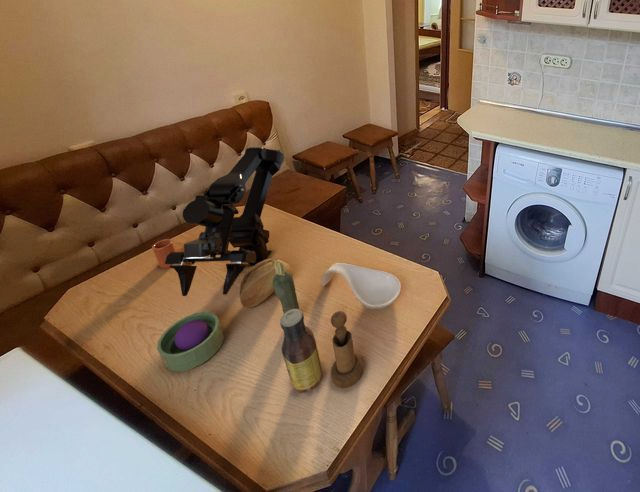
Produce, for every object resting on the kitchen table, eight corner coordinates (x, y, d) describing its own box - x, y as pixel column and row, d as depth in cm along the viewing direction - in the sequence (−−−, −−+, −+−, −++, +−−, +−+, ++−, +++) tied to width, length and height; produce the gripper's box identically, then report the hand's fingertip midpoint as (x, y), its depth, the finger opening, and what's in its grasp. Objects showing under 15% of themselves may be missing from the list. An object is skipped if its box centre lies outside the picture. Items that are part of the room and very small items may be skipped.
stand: (182, 257, 110) (175, 239, 107) (171, 268, 106) (163, 249, 103) (168, 256, 110) (160, 238, 107) (155, 267, 106) (147, 249, 103)
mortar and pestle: (354, 391, 75) (344, 331, 68) (326, 384, 76) (313, 325, 69) (368, 361, 81) (360, 304, 74) (342, 356, 82) (332, 298, 75)
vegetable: (306, 318, 91) (292, 257, 83) (293, 332, 87) (278, 270, 79) (292, 313, 92) (277, 252, 84) (279, 327, 88) (262, 265, 80)
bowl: (234, 329, 88) (229, 313, 85) (202, 374, 77) (195, 357, 75) (189, 327, 88) (183, 311, 86) (152, 372, 78) (143, 355, 75)
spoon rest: (409, 288, 100) (408, 269, 98) (387, 322, 90) (385, 301, 87) (339, 267, 107) (336, 248, 105) (311, 296, 97) (307, 276, 94)
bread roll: (230, 306, 94) (222, 284, 90) (273, 267, 107) (268, 246, 104) (260, 316, 91) (253, 293, 88) (300, 274, 104) (295, 253, 101)
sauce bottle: (298, 366, 79) (281, 301, 71) (327, 365, 80) (313, 300, 72) (287, 397, 73) (267, 330, 65) (318, 395, 74) (302, 328, 66)
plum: (192, 336, 86) (188, 313, 84) (218, 337, 85) (214, 314, 84) (169, 357, 79) (164, 332, 78) (197, 358, 79) (192, 333, 78)
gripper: (156, 226, 83) (136, 298, 78) (239, 224, 85) (226, 295, 79) (188, 231, 94) (172, 296, 88) (261, 230, 95) (251, 293, 89)
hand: (204, 295), depth 86 cm, fingers open, 9 cm apart
